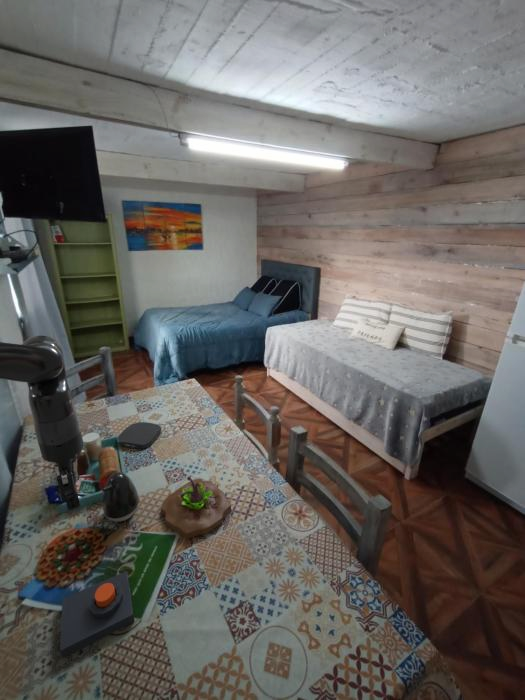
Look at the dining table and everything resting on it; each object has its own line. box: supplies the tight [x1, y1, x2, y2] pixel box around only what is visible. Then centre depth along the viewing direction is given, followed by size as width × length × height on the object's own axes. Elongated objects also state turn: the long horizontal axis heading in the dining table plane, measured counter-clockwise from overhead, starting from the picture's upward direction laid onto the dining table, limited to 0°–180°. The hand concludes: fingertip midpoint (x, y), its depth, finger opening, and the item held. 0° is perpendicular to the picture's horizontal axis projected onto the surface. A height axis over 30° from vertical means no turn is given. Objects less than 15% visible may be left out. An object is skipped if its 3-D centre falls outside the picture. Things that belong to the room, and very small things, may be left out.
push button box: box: [59, 570, 136, 659], centre depth 72 cm, size 14×11×4 cm
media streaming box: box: [117, 421, 162, 450], centre depth 134 cm, size 15×15×3 cm
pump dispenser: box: [101, 471, 140, 523], centre depth 96 cm, size 10×10×15 cm
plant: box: [160, 475, 232, 540], centre depth 99 cm, size 20×20×11 cm
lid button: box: [95, 583, 115, 607], centre depth 72 cm, size 4×4×2 cm
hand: (74, 493), depth 70 cm, fingers open, 8 cm apart
